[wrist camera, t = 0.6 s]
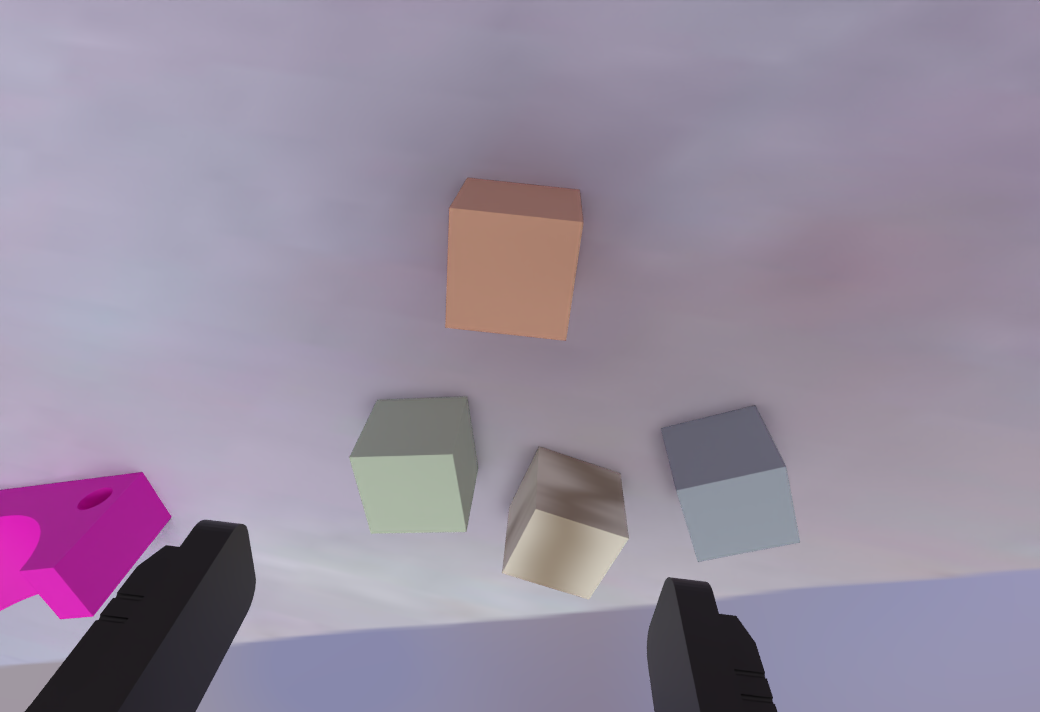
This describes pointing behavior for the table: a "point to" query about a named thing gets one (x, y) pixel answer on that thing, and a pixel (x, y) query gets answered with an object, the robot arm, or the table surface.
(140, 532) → the toy block
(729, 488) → the cube slate
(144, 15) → the table surface
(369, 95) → the table surface
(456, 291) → the cube terracotta
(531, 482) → the cube cream
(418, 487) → the cube sage
